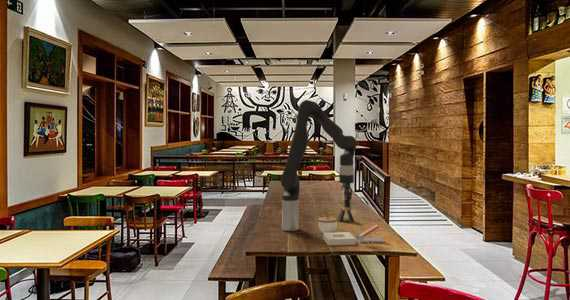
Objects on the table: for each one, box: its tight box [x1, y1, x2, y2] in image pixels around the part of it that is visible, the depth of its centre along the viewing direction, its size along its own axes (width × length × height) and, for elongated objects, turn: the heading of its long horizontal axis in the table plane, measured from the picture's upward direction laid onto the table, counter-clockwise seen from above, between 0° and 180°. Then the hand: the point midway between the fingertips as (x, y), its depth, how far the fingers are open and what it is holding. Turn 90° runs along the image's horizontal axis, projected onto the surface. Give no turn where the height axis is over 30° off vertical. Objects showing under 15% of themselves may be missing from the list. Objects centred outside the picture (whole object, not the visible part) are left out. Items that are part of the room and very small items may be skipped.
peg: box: [341, 190, 352, 211], centre depth 229 cm, size 4×4×10 cm
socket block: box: [322, 231, 357, 246], centre depth 223 cm, size 14×14×3 cm
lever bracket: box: [354, 232, 385, 244], centre depth 224 cm, size 14×7×3 cm, turn 95°
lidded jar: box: [317, 215, 338, 234], centre depth 243 cm, size 11×11×9 cm
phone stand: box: [337, 208, 355, 223], centre depth 274 cm, size 9×6×12 cm, turn 95°
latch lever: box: [358, 224, 380, 238], centre depth 224 cm, size 12×3×2 cm, turn 94°
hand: (346, 206), depth 229 cm, fingers closed on peg, 4 cm apart
